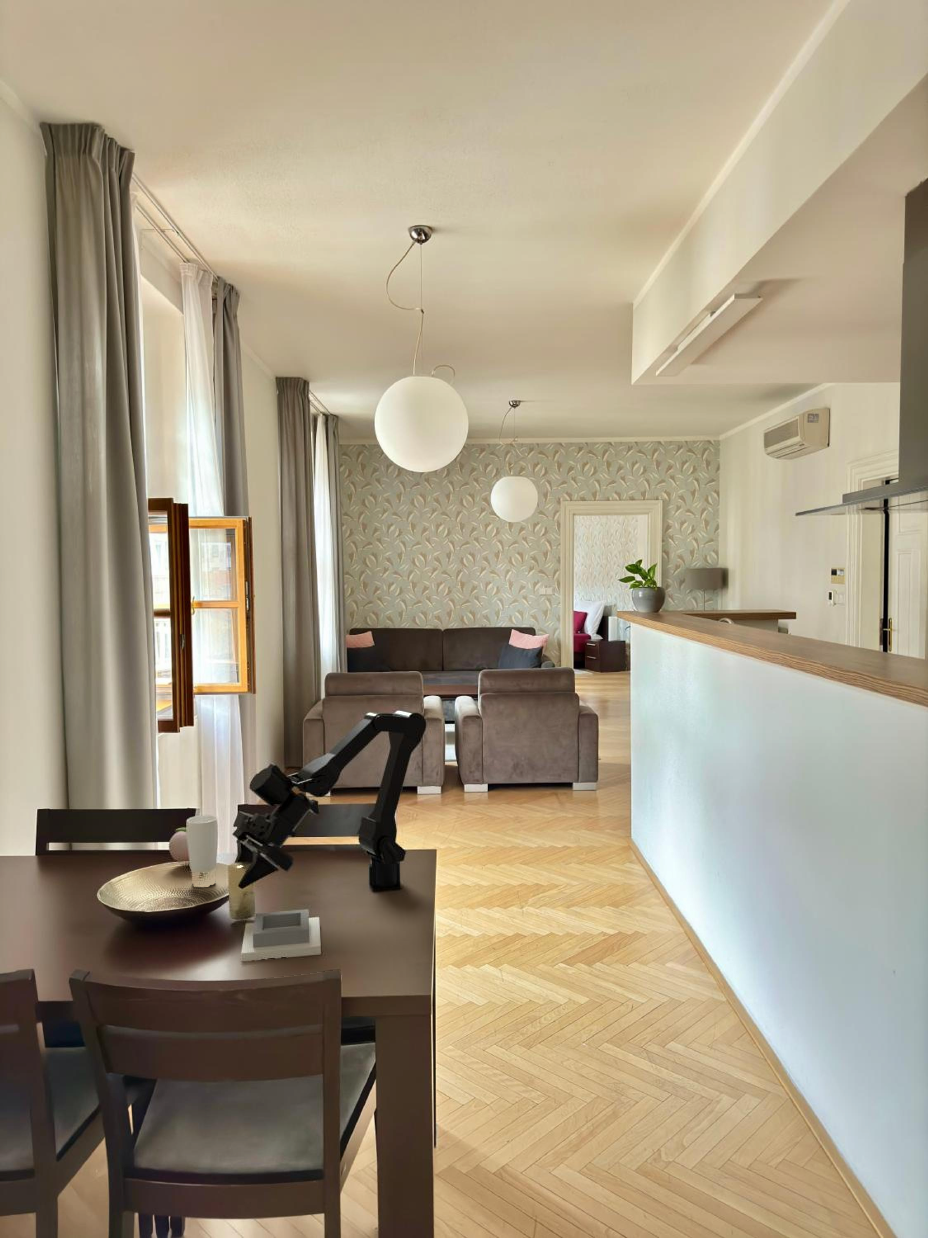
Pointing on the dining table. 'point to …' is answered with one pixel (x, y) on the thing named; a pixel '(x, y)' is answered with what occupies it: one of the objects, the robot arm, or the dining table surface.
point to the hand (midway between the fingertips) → (234, 884)
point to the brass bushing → (240, 893)
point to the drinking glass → (202, 842)
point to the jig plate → (281, 935)
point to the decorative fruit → (179, 845)
